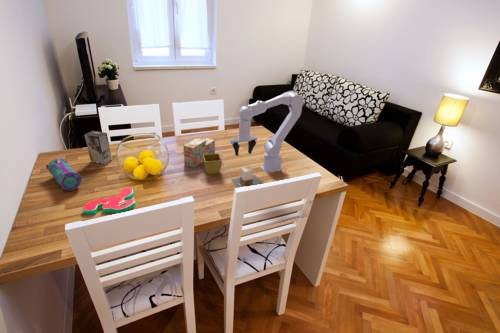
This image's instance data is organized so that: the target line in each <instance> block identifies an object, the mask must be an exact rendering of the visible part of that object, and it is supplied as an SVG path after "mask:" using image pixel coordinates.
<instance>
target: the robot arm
mask: <svg viewBox="0 0 500 333" xmlns="http://www.w3.org/2000/svg"><path fill="white" fill-rule="evenodd" d="M281 104H282V105H286V106H288V110H289V113H288V114H287V115H286V117H285V119H284V120H283V122H282V123H281V125H280V126H279V128H278V130H277V131H276V132H275V134H274V135H273V136H271V137H270V138H269V139H268V140H267V141H266V142H265V143H264V144H263V148H264V150H265V152H264V154H263V155H264V156H263V165H260V168H261V169H262V170H263V171H264V173H265V174H270V173H276V172H281V171H282V169H281V168H282V162H283V160H282V155H281V153H280V152H281V149H282V144H283V141H285V139H286V137H287V135H288V134H289V133H290V131H291V130H292V128H293V127H294V125H295V124H296V123H297V121H298V119H299V118H300V117H301V115H302V110H303V106H304V104H305V103H304V100H303V97H302V96H301V95H299V94H298V93H296V92H295V90H289V91H286V92H283V93H282V94H280V95H277V96H275V97H273V98H271V99H269V100H266V101H262V100H257V101H256V102H254V103H251V104H247V106H246V105H243V106H241V107H240V108H239V110H238V115H239V122H238V123H239V125H238V126H239V127H238V137H235V138H231V139H230V144H231V145H232V147H233V149H234V155H235V156H236V157H239V151H240V150H239V149H240V145H239V144H240V143H247V142H248V143H247V144H248V147H247V153H248V154H249V155H251V154H252V152H253V150H254V148H255V146H256V145H257V142H258V136H256V135H255V136H254V135H253V136H252V135H251V127H252V126H251V125H252V124H251V123H252V122H251V120H252V118H253V117H255V116H259V115H260V114H263V113H265V112H266V111H267V109H270V108H273V107H276V106H279V105H281Z"/></svg>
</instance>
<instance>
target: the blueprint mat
mask: <svg viewBox="0 0 500 333" xmlns="http://www.w3.org/2000/svg"><path fill="white" fill-rule="evenodd" d="M252 179H253V180H254V181H253V185H257V184H262V183H264V182H263V181H262V180H261V179H260V178H259V177H258V176H257V175H255V174H253V178H252ZM230 181H231V182H232V183H233V184H234V186H236V187H242V186H241V185H240V177H236V178H232V179H231V178H230Z"/></svg>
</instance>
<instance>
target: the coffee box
mask: <svg viewBox="0 0 500 333" xmlns="http://www.w3.org/2000/svg"><path fill="white" fill-rule="evenodd" d="M84 139H85V142H86V148H87V151H88V155H89V156H88V157H89V159H90V163H94V162H96V164H99V163H101V164H100V165H107V164H108V163H110V162H111V161H112V160H113V158H112V152H111V147H110V143H109V142H110V141H109V138H108V132H105V131H104V132H103V131H96V130H91V131H89V132H87V133H84ZM111 159H112V160H111ZM110 160H111V161H110ZM109 161H110V162H109ZM107 162H108V163H107ZM106 163H107V164H106Z"/></svg>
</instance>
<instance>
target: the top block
mask: <svg viewBox="0 0 500 333" xmlns="http://www.w3.org/2000/svg"><path fill="white" fill-rule="evenodd" d="M253 175H254V169H252V168H251V167H250V166H249V165H248V166H244V167H243V166H242V167H240V176H239V178H240V177H241V178H242V179H243V180H244V181H246V180H251V179H252V178H253Z"/></svg>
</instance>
